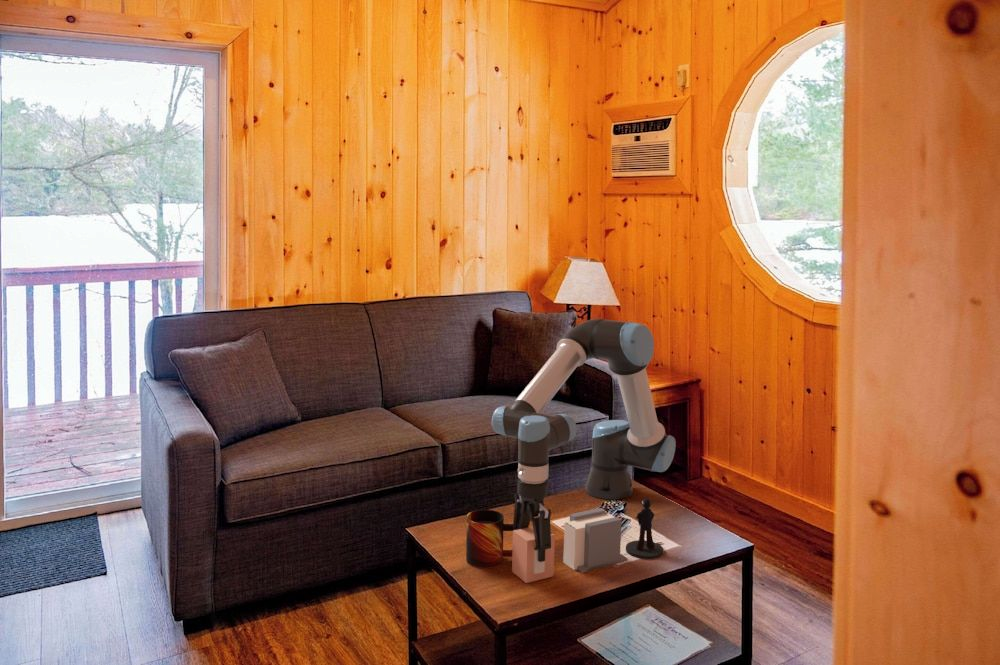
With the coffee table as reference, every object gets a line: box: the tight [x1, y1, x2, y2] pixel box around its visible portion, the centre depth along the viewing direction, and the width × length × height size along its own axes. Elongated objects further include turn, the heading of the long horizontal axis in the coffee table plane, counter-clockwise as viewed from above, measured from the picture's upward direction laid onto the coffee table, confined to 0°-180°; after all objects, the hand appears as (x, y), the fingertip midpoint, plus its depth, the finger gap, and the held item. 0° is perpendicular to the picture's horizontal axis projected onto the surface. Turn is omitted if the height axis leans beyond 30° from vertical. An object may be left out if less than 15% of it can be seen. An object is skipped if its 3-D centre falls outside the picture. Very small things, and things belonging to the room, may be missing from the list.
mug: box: [465, 509, 518, 569], centre depth 219 cm, size 10×14×12 cm
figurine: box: [625, 497, 665, 560], centre depth 224 cm, size 10×10×15 cm
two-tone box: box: [561, 507, 628, 573], centre depth 218 cm, size 16×9×12 cm, turn 119°
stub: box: [511, 525, 556, 584], centre depth 209 cm, size 8×7×11 cm
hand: (530, 566), depth 210 cm, fingers closed on stub, 7 cm apart
